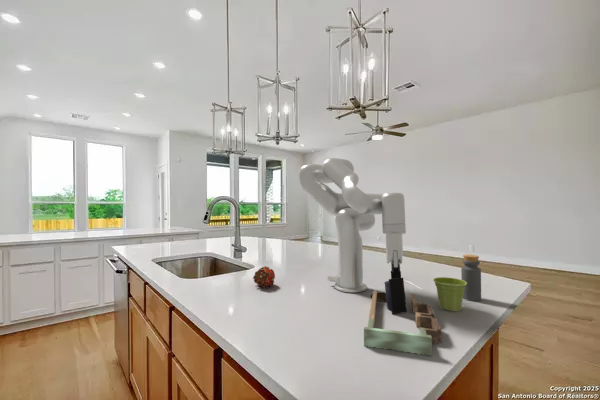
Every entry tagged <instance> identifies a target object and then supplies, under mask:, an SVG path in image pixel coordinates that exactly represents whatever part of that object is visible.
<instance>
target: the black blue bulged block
mask: <svg viewBox="0 0 600 400" xmlns="http://www.w3.org/2000/svg"><path fill="white" fill-rule="evenodd" d="M404 280H405V279H404V277H401V278H394V279H391V278H388V281H384V289H385V300H386V308H387V309H388V310H391V314H392V315H398V314H399V315H400V314H404V313H407V312H408V310H407V300H406V291H405V281H404Z"/></svg>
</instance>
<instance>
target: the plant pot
mask: <svg viewBox="0 0 600 400" xmlns="http://www.w3.org/2000/svg"><path fill="white" fill-rule="evenodd" d="M433 282H434V285H435V287H436V293H437V298H438V305H439V308H440V309H442V310H448V311H449V312H460V311H461V310H462V307H463V300H464V299H463V293H464V289H465V285H467V282H465V281H463V280H462V279H459V278H455V277H447V276H443V277H442V276H440V277H434V278H433Z"/></svg>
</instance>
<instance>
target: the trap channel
mask: <svg viewBox="0 0 600 400" xmlns="http://www.w3.org/2000/svg"><path fill="white" fill-rule="evenodd" d="M371 296H372V298H371V304H370V308H369V316H368V322H367V326H364V327H363V347H367V346H368V347H367V348H373V347H376V348H375V349H380V348H384V349H383V350H387V349H392V350H391V351H394V350H398V351H397V352H401V351H404V352H403V353H407V352H411V353H410V354H414V353H417V355H421V354H423V355H422V356H428V355H430V357H432V356H433V344H435V345H436V344H437V345H438V344H439V343H442V329H441V326H440V324H439V321H438V320H437V318H435V313H434V310H433V308H432V305H431V304H427V303H422V302H418V301H417V297H416V294H410V304H411V309H412V313H413V314H415V326H416V328H418V330H419V333H417V332H415V333H414V332H408V331H400V330H394V329H384V328H376V327H375V321H376V313H377V312H376V311H377V304H378V303H377V302H378V291H377V290H373V291H372V295H371ZM424 354H425V355H424Z"/></svg>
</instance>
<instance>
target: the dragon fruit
mask: <svg viewBox="0 0 600 400" xmlns="http://www.w3.org/2000/svg"><path fill="white" fill-rule="evenodd" d="M275 278H276V275H275V271H274V270H273V268H270V267H269V266H266V265H265V266H262V267H260V268H259V269H258V270H256V271H255V272H254V276H253V277H252V279H253V282H254V284H257V286H259V285H260V286H259V287H262V288H264V287H266V288H267V287H268V286H273V285H274V283H275Z"/></svg>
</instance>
